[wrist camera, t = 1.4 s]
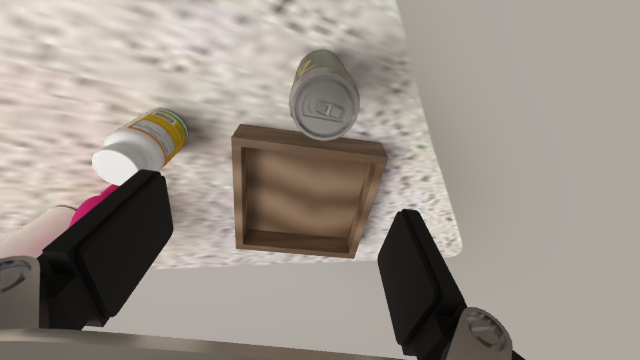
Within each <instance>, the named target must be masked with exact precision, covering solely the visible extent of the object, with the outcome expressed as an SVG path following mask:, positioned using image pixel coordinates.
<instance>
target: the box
mask: <svg viewBox="0 0 640 360" xmlns="http://www.w3.org/2000/svg"><path fill="white" fill-rule="evenodd" d="M231 138H232V163H233V187H234V212H235V236H236V249H246V250H258V251H270V252H281V253H293V254H305V255H317V256H328V257H340V258H352V259H354V257H355V254H356V251H357V248H358V245H359V242H360V239H361V236H362V233H363V230H364V228H365V225H366V222H367V219H368V216H369V213H370V210H371V207H372V204H373V201H374V198H375V195H376V192H377V189H378V186H379V183H380V180H381V177H382V174H383V171H384V168H385V165H386V163H387V160H388V156H387V154H386V152H385V150H384V149H383V147H382V145H381V143H377V142H369V141H362V140H354V139H347V138H340V137H338V138H336V139H334V140H326V141H322V140H316V139H313V138H311V137H309V136H307V135H305V134H304V133H302V132H295V131H287V130H280V129H272V128H265V127H258V126H250V125H243V124H240V125H239V127H238V128H237V130H236V131H235V133H234V134H233V136H232V137H231Z"/></svg>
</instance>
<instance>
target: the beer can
mask: <svg viewBox="0 0 640 360" xmlns="http://www.w3.org/2000/svg"><path fill="white" fill-rule="evenodd" d="M289 107H290V112H291V116H292V118H293V120H294V122H295V124H296V125H297V127H298V128H299V129H300V130H301V131H302V132H303V133H304V134H305V135H307V136H309V137H311V138H313V139H316V140H322V141H326V140H334V139H336V138H338V137H341V136H343V135H344V134H345V133H346V132H347V131H349V130H350V129H351V127H352V126H353V124H354V123H355V121H356V118H357V115H358V111H359V107H360V100H359V93H358V90H357V88H356V85H355V83H354V81H353V80H352V78H351V77H350V75H349V73H348V72H347V70H346V68H345V67H344V65H343V63H342V62H341V61H340V59H339V58H338V57H337V56H336V55H334V54H333V53H331V52H329V51H324V50H318V51H313V52H311V53H309V54H308V55H306V56H305V57H304V58H303V59H302V60H301V62H300V64H299V66H298V69H297V72H296V76H295V79H294V82H293V86H292V89H291V93H290V100H289Z"/></svg>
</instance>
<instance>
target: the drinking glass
mask: <svg viewBox="0 0 640 360" xmlns="http://www.w3.org/2000/svg"><path fill="white" fill-rule="evenodd" d="M75 212H76V211H75V210H73V209H71V208H67V207H53V208H50V209H49V210H47V211H46V212H44V213H43V214H42V215H40V216H39V217H37V218H36V219H34V220H33V221H31V222H29V223H28V224H26V225H25V226H23V227H21V228H20V229H18V230H17V231H15V232H13V233H12V234H10V235H8V236H7V237H5V238H4V239H2V240H0V259H1V258H6V257H11V256H23V255H25V256H30V257H34V258H36V257H38V256H40V255H41V254H42V253H43V252H42V250H43V249H44V248H45V247H46V246H47V245H49V244H50V243H51V242H52V241H54V240H55V239H56V238H57V237H58V236H60V235H61V234H62V233H63V232H64V231H66V230H67V229H68V228H69V225H70V222H71V220H72V217H73V216H74V214H75Z"/></svg>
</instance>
